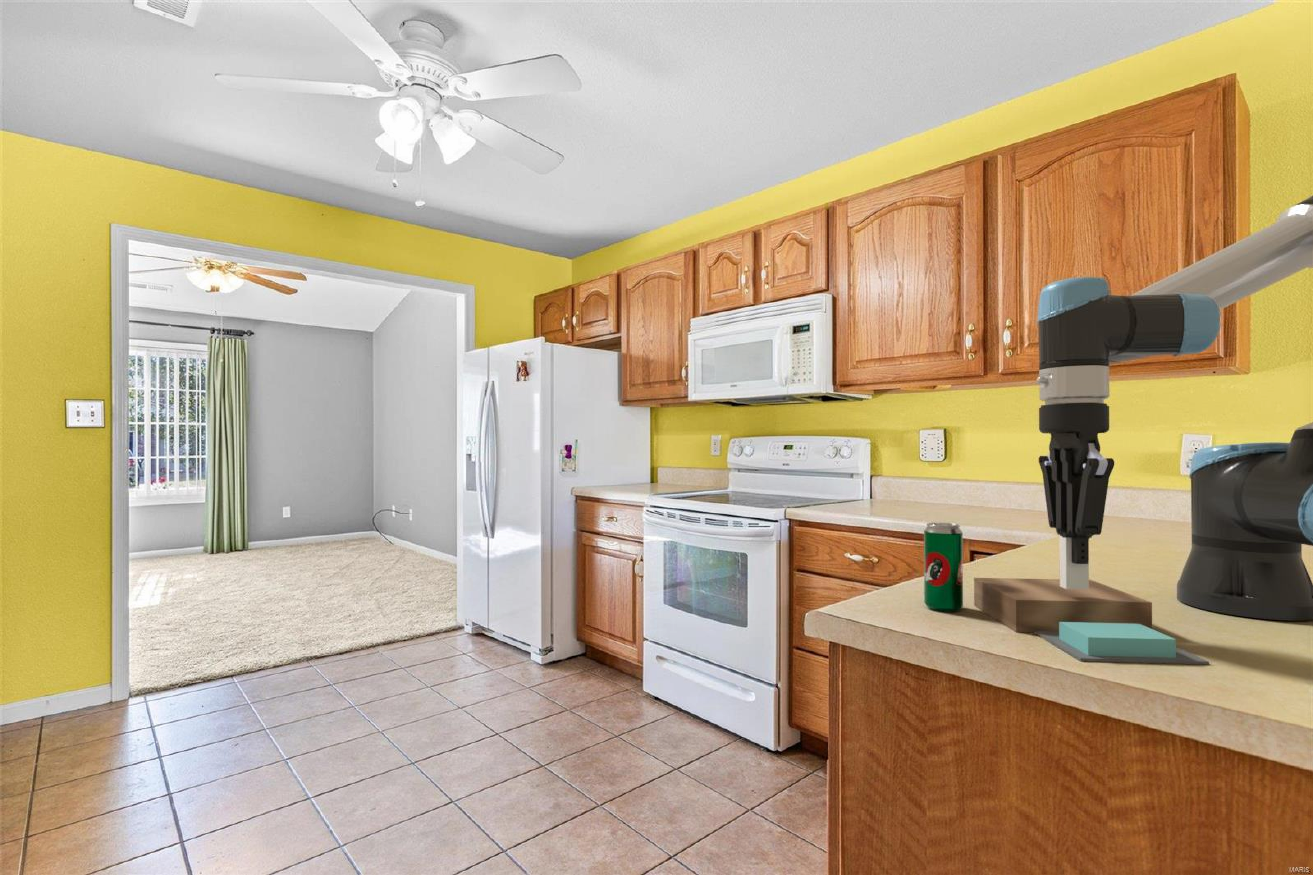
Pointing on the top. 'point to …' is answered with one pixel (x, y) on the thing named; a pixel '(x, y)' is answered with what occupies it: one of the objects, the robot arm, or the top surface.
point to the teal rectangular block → (1117, 639)
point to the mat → (1181, 656)
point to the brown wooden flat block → (1056, 604)
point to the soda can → (943, 567)
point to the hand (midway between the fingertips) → (1074, 587)
